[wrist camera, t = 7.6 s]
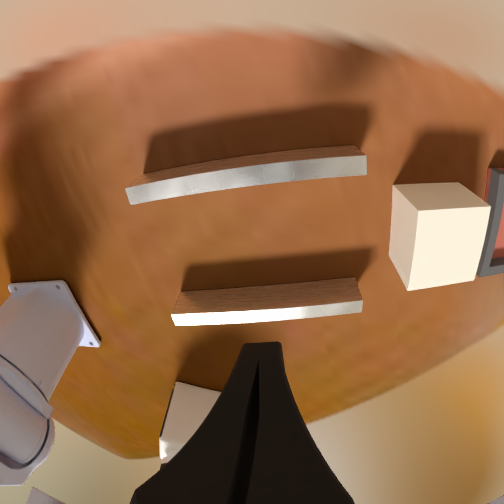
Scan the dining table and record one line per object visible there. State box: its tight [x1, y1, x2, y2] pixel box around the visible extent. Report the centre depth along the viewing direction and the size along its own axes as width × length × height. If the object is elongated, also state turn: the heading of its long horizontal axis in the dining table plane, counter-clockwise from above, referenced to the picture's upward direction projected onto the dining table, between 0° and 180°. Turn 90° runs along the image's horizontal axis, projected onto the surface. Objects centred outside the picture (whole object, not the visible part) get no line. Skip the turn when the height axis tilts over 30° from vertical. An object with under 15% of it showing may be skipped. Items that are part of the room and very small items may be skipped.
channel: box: [125, 145, 367, 325], centre depth 18 cm, size 12×10×2 cm
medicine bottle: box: [159, 382, 221, 469], centre depth 25 cm, size 7×7×12 cm
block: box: [389, 182, 491, 291], centre depth 16 cm, size 5×5×4 cm
